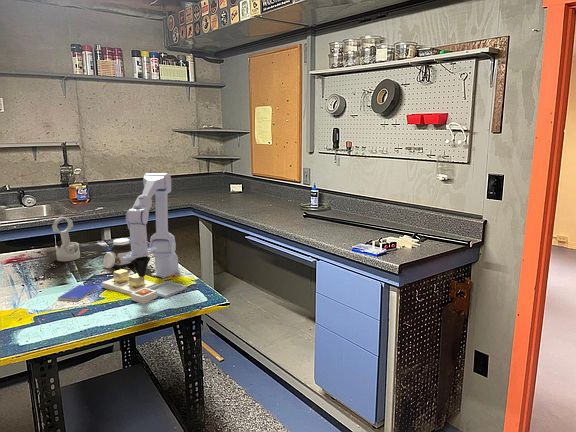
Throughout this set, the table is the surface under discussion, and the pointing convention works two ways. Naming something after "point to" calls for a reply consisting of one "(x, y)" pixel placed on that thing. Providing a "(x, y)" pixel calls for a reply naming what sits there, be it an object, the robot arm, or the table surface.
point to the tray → (168, 289)
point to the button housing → (144, 298)
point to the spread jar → (118, 253)
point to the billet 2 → (136, 281)
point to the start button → (143, 292)
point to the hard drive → (77, 293)
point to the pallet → (125, 286)
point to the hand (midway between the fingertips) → (141, 276)
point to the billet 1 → (121, 276)
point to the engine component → (66, 243)
